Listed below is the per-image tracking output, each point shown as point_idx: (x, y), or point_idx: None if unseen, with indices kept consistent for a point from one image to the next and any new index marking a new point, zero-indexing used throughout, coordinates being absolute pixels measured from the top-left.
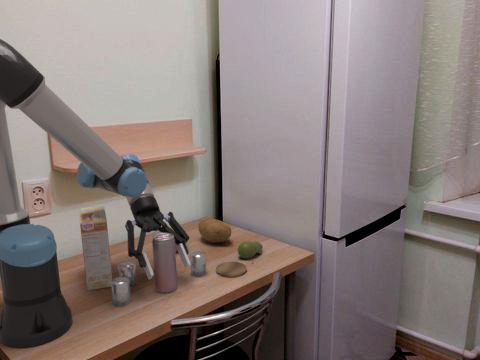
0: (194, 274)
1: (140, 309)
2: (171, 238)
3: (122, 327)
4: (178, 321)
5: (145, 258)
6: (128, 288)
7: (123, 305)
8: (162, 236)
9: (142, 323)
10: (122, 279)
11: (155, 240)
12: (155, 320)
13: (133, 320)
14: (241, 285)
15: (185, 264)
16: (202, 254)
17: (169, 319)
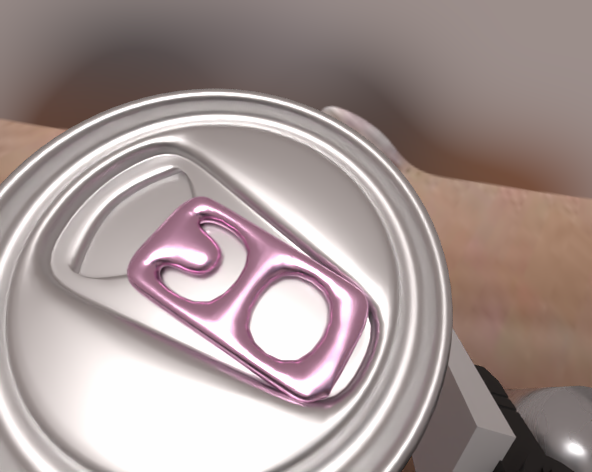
0: None
1: (452, 304)
2: (205, 89)
3: (554, 255)
4: (391, 146)
5: (473, 374)
6: (519, 394)
7: None
8: (203, 303)
9: (488, 221)
10: (581, 459)
11: (432, 270)
12: (444, 202)
13: (506, 260)
14: (53, 128)
15: None
16: None
17: (406, 173)
